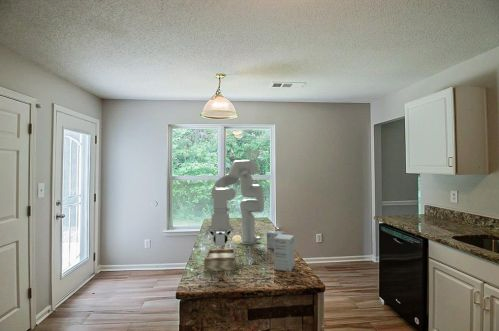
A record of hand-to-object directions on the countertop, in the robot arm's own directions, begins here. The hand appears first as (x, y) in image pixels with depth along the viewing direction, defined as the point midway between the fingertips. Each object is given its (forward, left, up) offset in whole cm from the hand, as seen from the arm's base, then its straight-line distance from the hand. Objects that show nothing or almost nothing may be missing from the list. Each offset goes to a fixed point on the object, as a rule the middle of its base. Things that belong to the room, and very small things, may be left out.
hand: (220, 242), depth 154 cm
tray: (0, 0, -13) cm, 13 cm away
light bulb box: (-35, -31, -13) cm, 49 cm away
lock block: (0, 0, -1) cm, 1 cm away
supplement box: (-35, +6, -13) cm, 38 cm away
